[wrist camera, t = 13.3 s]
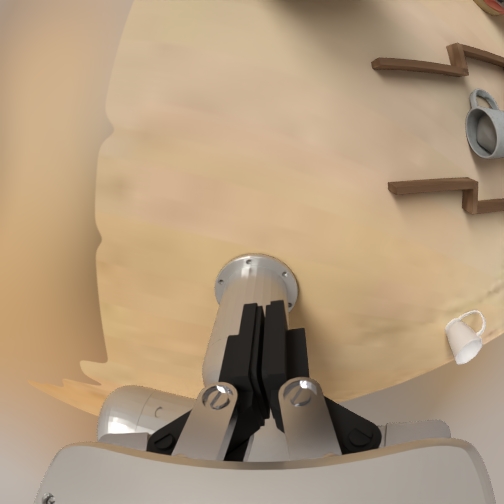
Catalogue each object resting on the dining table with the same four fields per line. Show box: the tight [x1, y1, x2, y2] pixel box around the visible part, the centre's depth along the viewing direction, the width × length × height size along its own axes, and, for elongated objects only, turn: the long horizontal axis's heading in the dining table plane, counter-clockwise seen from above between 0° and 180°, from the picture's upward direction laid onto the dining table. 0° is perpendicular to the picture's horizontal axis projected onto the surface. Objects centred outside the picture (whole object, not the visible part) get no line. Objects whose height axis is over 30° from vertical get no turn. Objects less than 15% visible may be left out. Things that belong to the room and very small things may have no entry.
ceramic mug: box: [466, 89, 504, 159], centre depth 24 cm, size 11×8×8 cm
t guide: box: [371, 43, 504, 214], centre depth 27 cm, size 26×29×3 cm
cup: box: [445, 310, 486, 365], centre depth 40 cm, size 7×10×8 cm
